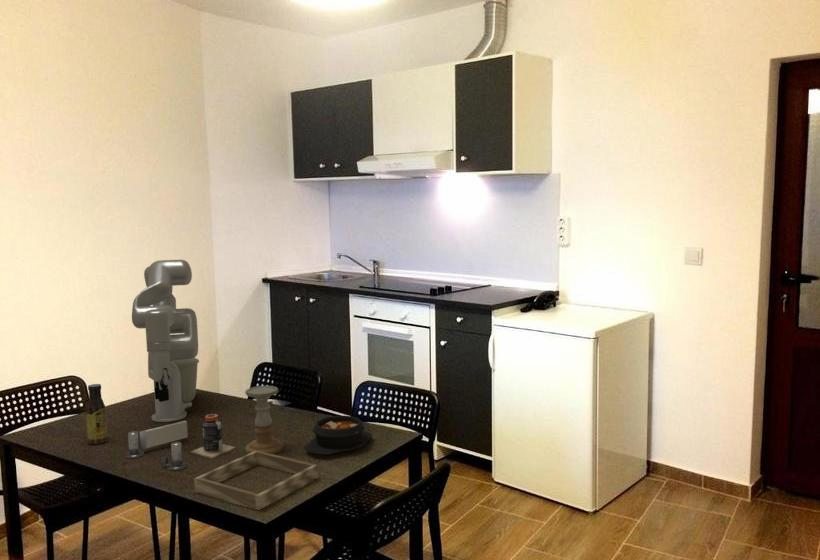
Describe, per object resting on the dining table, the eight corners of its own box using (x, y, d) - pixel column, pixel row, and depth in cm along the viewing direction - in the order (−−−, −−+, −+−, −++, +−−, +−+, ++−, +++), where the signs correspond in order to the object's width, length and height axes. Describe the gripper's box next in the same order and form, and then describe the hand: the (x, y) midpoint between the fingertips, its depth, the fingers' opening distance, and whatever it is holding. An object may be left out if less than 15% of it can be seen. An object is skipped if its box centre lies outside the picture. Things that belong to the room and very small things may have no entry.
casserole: (332, 465, 210) (331, 438, 209) (291, 452, 222) (290, 427, 221) (385, 441, 230) (384, 417, 229) (345, 431, 241) (344, 407, 240)
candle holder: (267, 440, 233) (264, 382, 230) (291, 448, 225) (289, 388, 223) (237, 451, 223) (234, 390, 221) (261, 459, 215) (258, 397, 213)
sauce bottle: (99, 445, 231) (95, 388, 228) (83, 444, 232) (79, 387, 229) (111, 439, 237) (108, 383, 235) (95, 438, 238) (91, 382, 236)
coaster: (214, 443, 230) (214, 441, 230) (235, 448, 225) (235, 447, 225) (190, 453, 222) (190, 451, 222) (212, 458, 217) (212, 457, 217)
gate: (142, 449, 222) (141, 433, 221) (139, 448, 223) (138, 431, 223) (188, 437, 233) (187, 421, 232) (185, 436, 234) (184, 420, 234)
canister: (146, 402, 280) (143, 352, 278) (187, 392, 293) (184, 344, 291) (168, 411, 268) (165, 358, 265) (209, 400, 281) (206, 350, 279)
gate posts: (120, 456, 220) (118, 434, 219) (136, 450, 225) (134, 428, 224) (176, 472, 207) (174, 448, 206) (191, 465, 212) (190, 442, 211)
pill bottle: (226, 447, 225) (224, 414, 223) (212, 453, 220) (210, 419, 218) (214, 444, 228) (212, 411, 227) (199, 450, 223) (198, 416, 222)
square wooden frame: (256, 462, 213) (255, 450, 212) (318, 478, 200) (317, 464, 200) (194, 492, 192) (194, 478, 192) (259, 511, 179) (258, 496, 179)
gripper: (139, 344, 233) (143, 396, 235) (155, 351, 220) (158, 407, 222) (162, 340, 237) (165, 392, 239) (178, 348, 224) (181, 402, 226)
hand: (162, 399), depth 231 cm, fingers open, 3 cm apart
